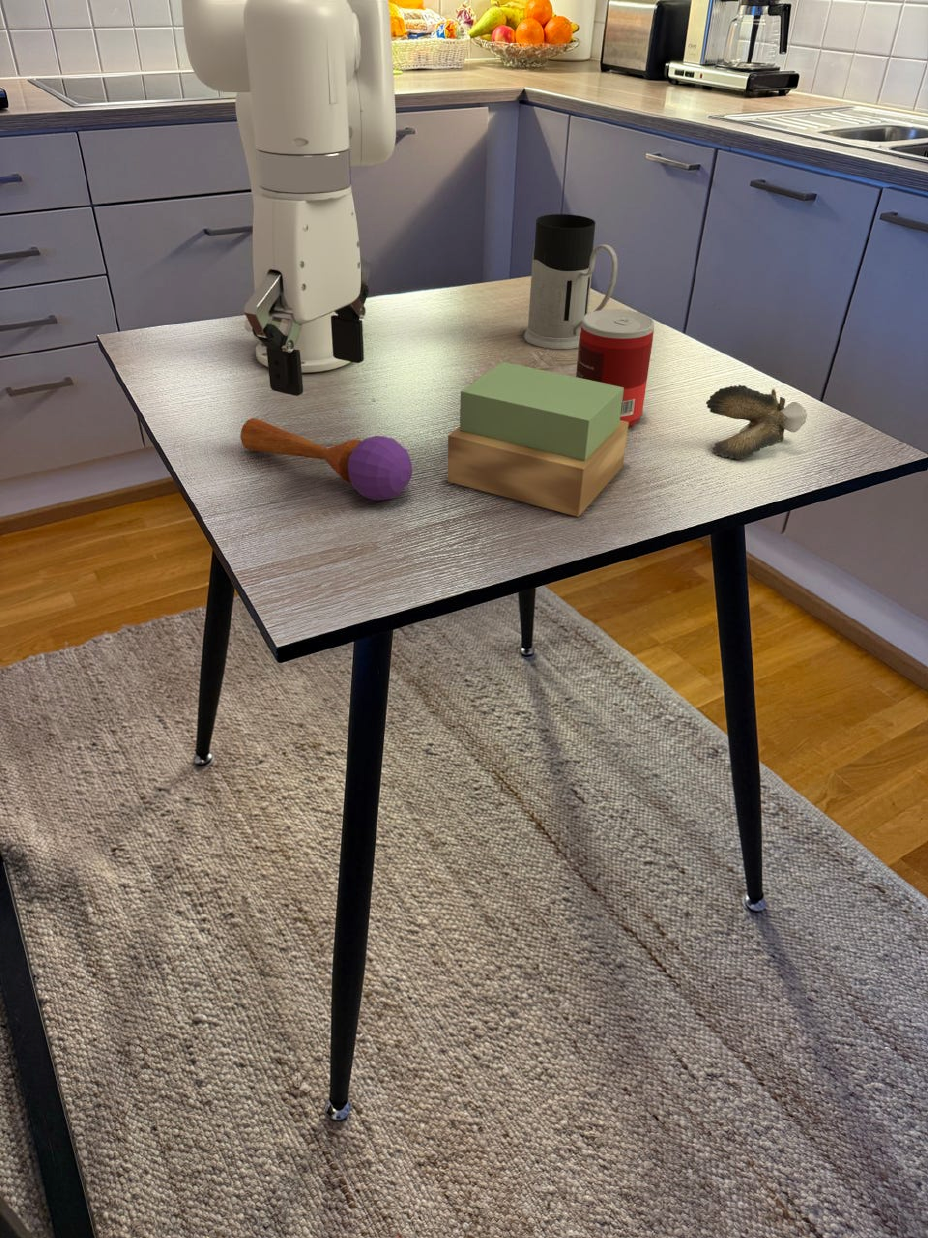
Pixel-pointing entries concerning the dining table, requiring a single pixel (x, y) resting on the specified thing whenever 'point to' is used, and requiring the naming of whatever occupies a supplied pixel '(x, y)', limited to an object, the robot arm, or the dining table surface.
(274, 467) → the dining table surface
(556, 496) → the maple block
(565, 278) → the glass holder
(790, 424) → the eagle figurine
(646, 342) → the canned food
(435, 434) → the dining table surface
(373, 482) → the purple wooden maraca
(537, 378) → the sage block
